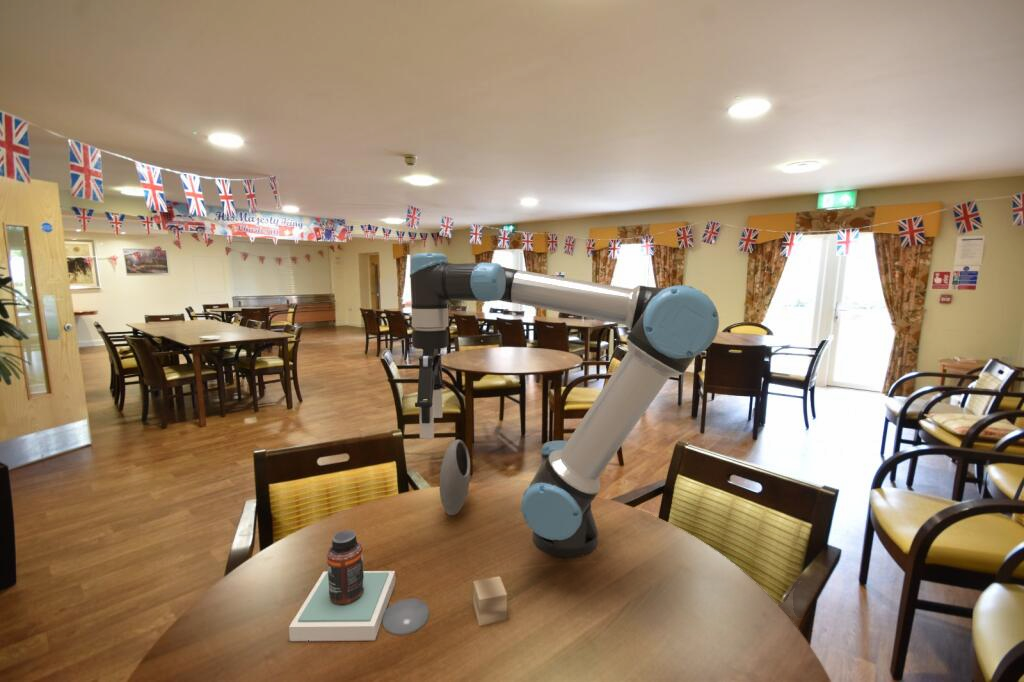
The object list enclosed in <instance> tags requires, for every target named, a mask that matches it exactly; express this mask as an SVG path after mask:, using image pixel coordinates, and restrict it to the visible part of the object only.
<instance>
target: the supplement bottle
mask: <svg viewBox="0 0 1024 682" xmlns="http://www.w3.org/2000/svg"><path fill="white" fill-rule="evenodd" d="M331 540H332V543H331V545H332V546H331V547H329V549H328V550H327V555H326V560H327V571H328V580H329V595H330V596H329V597H330V599H331V601H332V602H334V603H336V604H347V603H350V602H353V601H354V600H356V599H357V598H359V597H360V596H361V594H362V593H363V591H364V572H363V571H364V556H363V555H364V553H363V546H362V543H361V542H360V541H358V540H357V533H356V532H355V531H354V530H352V529H351V530H348V529H345V530H342V531H339V532H337V533H335V534H334V535H333V536H332V538H331Z"/></svg>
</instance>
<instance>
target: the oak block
mask: <svg viewBox="0 0 1024 682" xmlns="http://www.w3.org/2000/svg"><path fill="white" fill-rule="evenodd" d="M473 607H474V612H475V615H476V619H477V622H478V625H479V626H485V625H489V624H495V623H499V622H503V621H507V620H508V593H507V590H506V589H505V586H504V583H503V581H502V578H501V576H493V577H488V578H483V579H482V578H481V579H477V580H473Z"/></svg>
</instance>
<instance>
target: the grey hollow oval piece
mask: <svg viewBox="0 0 1024 682" xmlns="http://www.w3.org/2000/svg"><path fill="white" fill-rule="evenodd" d="M470 460H471V459H470V453H469V449H468V447H467V445H466V443H465V442H464V441H463V440H461V439H454V440H453V441H452V442H451V443H450V444H449V446H448V447H447V449H446V450H445V454H444V456H443V458H442V462H441V467H440V473H439V496H440V497H439V498H440V501H441V505H442V508H443V510H444V511H445V513H446V514H448V515H449V516H456V515H457V514H458V513H459V512H460V511H461V510H462V508H463V506H464V504H465V502H466V499H467V495H468V492H469V488H470V487H469V486H470V480H471V478H470V477H471V461H470Z"/></svg>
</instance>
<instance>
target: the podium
mask: <svg viewBox="0 0 1024 682" xmlns="http://www.w3.org/2000/svg"><path fill="white" fill-rule="evenodd" d="M363 572H364V591H363V593H362V594H361V596H360V597H359V598H357V599H356V600H354V601H353V602H350V603H347V604H336V603H334V602H332V601H331V599H330V597H329V596H330V595H329V580H328V570H327V571H322V574H321V575H320V577H319V579H318V580H317V581H316V583H315V585H314V586H313V588H312V590H311V591H310V593H309V594H308V596H307V597H306V599H305V600H304V602H303V603H302V605H301V607H300V608H299V609H298V610H299V611H298V612H297V614H296V615H295V617H294V618H293V620H292V621H291V623H290V625H289V626H288V632H289V635H288V636H289V642H332V641H333V642H337V641H338V642H340V641H343V642H345V641H347V642H349V641H351V642H352V641H376V639H377V635H378V632H379V630H380V627H381V624H382V623H383V615H384V613H385V611H386V610H387V609H388V605H389V601H390V599H391V596H392V593H393V591H394V589H395V585H396V571H395V570H367V571H366V570H363ZM308 640H309V641H308Z"/></svg>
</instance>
